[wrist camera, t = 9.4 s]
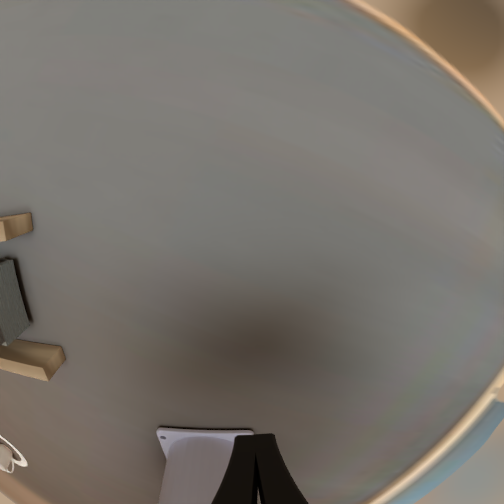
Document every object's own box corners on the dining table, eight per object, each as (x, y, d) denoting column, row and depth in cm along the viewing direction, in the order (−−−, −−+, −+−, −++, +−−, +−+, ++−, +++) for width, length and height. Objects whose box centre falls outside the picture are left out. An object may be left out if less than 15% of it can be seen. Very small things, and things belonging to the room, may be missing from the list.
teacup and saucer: (-23, 417, 23) (-35, 433, 19) (9, 432, 23) (-4, 451, 19) (4, 455, 25) (-6, 470, 21) (37, 470, 26) (28, 488, 22)
